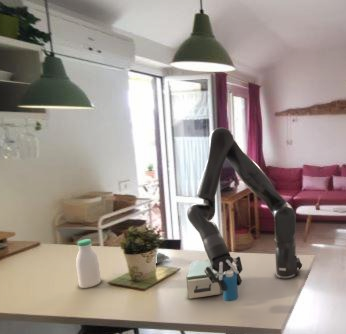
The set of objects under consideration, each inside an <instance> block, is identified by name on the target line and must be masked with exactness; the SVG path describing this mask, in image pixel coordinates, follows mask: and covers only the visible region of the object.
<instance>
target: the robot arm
mask: <svg viewBox="0 0 346 334" xmlns="http://www.w3.org/2000/svg"><path fill="white" fill-rule="evenodd" d="M208 150H209V151H208V156H207V160H206V164H205V166H204V170H203V172H202V174H201V178H200V181H199V184H198V189H197V192H196V195H197V197H198V199H201V200H203V202H202V204H201V203H199V204H198V203H194V204H191V205H190V206H189V207H188V208H187V211H186V212H187V213H186V215H187V219H188V221H189V223H190V224H191V225H192V226H193V228H194V229H195V230H196V231H197V232H198V233H199V236H200V239H201V241H202V244H203V248H204V251H205V253H206V255H207V258H208V260H210V262H211V266H210V267H206V269H205V273H206V274H207V276H208V277H209V279H210V280H211V282H212V283H215V282H217V283H218V284H219V286H220V289H221V290H222V293H223V292H224V291H226V290H227V288H226V285H225V283H224V281H223V280H222V273H223V272H224V273H225V272H226V271H228V270H233V272H234V273H236V274H237V286H241V285H242V282H243V280H242V278H241V276H240V274H241V273H242V272H243V265H242V260H241V256H237V257H232V256H231V253H230V251H229V249H228V247H227V246H228V245H227V244H226V242H225V240H224V238H223V236H222V234H221V232H220V230H219V228H218V226H217V224H216V223H215V222H212V221H211V220H213V219H214V217H215V215H216V195H217V191H218V187H219V185H220V180H221V176H222V171H223V168H224V167H223V166H224V164H225V161H226V160H227V161H228V163H229V164H230V165H231V167H232V168H233V170H234V172H235V173H236V174H237V175H238V177H239V179H240V180H241V181H242V182H243V184H244V185H245V186H246V187H247V188H248V189H249V190H250V192H252V193H253V194H254V195H255V196H256V197H258V199H260V200H261V201H262V202H263V203H264V204H265V206H267V208H268V210H269V211H270V213H271V214H272V216H273V219H274V220H273V221H274V253H275V254H274V255H275V256H274V257H275V276H276V277H277V278H279V279H283V280H287V279H292V278H294V277H297V276H298V271H300V270H301V269H302V267H303V264H302V263H301V259H300V257H298V256H297V247H296V233H297V217H296V211H295V209H294V208H293V206H292V205H291V204H290V202H289V203H288V201H286V199H284V197H283V196H281V194H280V193H279V192H278V191H277V190H276V188H275V187H274V184H272V182H271V180H270V179H269V177H268V176H267V175H266V174H265V172H264V171H263V170H262V168H261V167H260V165H258V164H257V163H256V162H255V161H254V159H252V158H251V157H250V156H249V155H248V154H246V152H244V150H243V149H242V148H241V147H240V145H239V144H238V142H237V141H236V139H235V137H234V135H233V133H232V132H231V130H230V129H228V128H226V127H217V128H215V129H214V130H212V131H211V132H210V134H209V149H208ZM212 269H214V270H215V271H217V278H216V276H215V275H214V273H213V272H212Z"/></svg>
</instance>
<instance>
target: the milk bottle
mask: <svg viewBox="0 0 346 334" xmlns="http://www.w3.org/2000/svg"><path fill="white" fill-rule="evenodd" d="M77 247H78V253H77V255H76V259H75V265H76V273H77V280H78V286H79V287H80V288H82V289H86V288H87V289H88V288H92V287H95V286H97V285H99V284H100V283H101V281H102V276H101V270H100V263H99V257H98V255H97V253H96V251H95V250H94V249H93V247H92V240H91V239H90V238H86V239H82V240H81V239H80V240H79V241H77Z"/></svg>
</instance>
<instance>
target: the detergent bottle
mask: <svg viewBox="0 0 346 334" xmlns="http://www.w3.org/2000/svg"><path fill="white" fill-rule="evenodd" d="M222 280H223V281H224V283H225V285H226V288H227V290H226V291H224V292H223V291H222V296H223V301H224V302H234V301H236V300H238V298H239V291H238V290H239V289H238V288H239V287H238V285H237V274H236V273H234V272H233V270H228V271H226V272H224V275H223V276H222Z"/></svg>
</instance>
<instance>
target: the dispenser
mask: <svg viewBox="0 0 346 334" xmlns="http://www.w3.org/2000/svg"><path fill="white" fill-rule="evenodd" d="M210 266H211V262H210V260H209V259H203V260H202V259H201V260H195V261H191V264H190V265H189V268H188V272H187V274H186V278H185V279H186V288H187V291H188V282H187V281H188V280H191V279H193V278H201V277H208V276H207V274H206V273H205V269H206V267H210ZM212 272H213V273H214V275H215V276H216V275H217V271H215V270H214V269H212ZM224 274H225V272H223V273H222V276H223V275H224ZM217 295H223V290H221V289H220V294H217ZM217 295H216V296H217ZM210 296H212V295H210ZM210 296H209V297H210ZM203 297H205V296H203ZM203 297H202V298H203ZM187 299H188V300H189V293H188V292H187Z"/></svg>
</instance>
